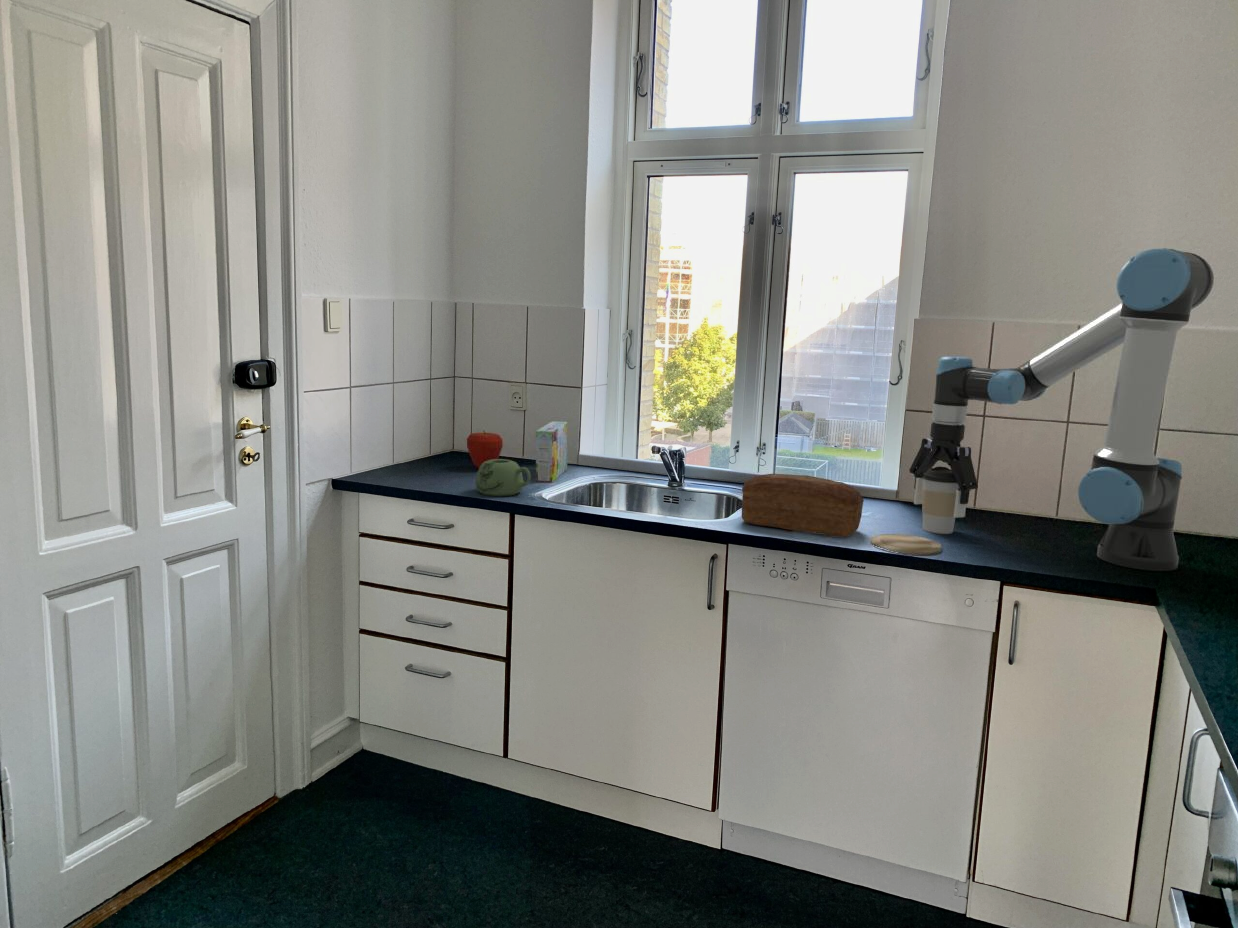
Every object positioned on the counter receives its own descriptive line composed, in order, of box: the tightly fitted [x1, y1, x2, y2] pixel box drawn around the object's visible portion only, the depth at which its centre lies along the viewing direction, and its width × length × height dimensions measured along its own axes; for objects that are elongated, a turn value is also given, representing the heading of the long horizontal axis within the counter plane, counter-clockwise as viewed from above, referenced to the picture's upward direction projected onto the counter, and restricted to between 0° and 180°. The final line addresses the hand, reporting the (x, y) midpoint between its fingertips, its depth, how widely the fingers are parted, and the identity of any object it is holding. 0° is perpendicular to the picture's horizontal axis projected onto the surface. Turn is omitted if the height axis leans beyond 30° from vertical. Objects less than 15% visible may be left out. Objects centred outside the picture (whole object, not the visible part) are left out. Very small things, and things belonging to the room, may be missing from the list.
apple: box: [466, 430, 504, 470], centre depth 269 cm, size 11×11×12 cm
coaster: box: [870, 533, 942, 556], centre depth 196 cm, size 15×15×1 cm
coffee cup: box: [921, 466, 959, 535], centre depth 211 cm, size 9×9×15 cm
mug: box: [475, 458, 532, 497], centre depth 236 cm, size 16×13×9 cm
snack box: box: [535, 421, 568, 483], centre depth 262 cm, size 21×6×15 cm, turn 172°
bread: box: [741, 473, 865, 538], centre depth 209 cm, size 14×28×12 cm, turn 62°
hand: (938, 510), depth 212 cm, fingers open, 13 cm apart
